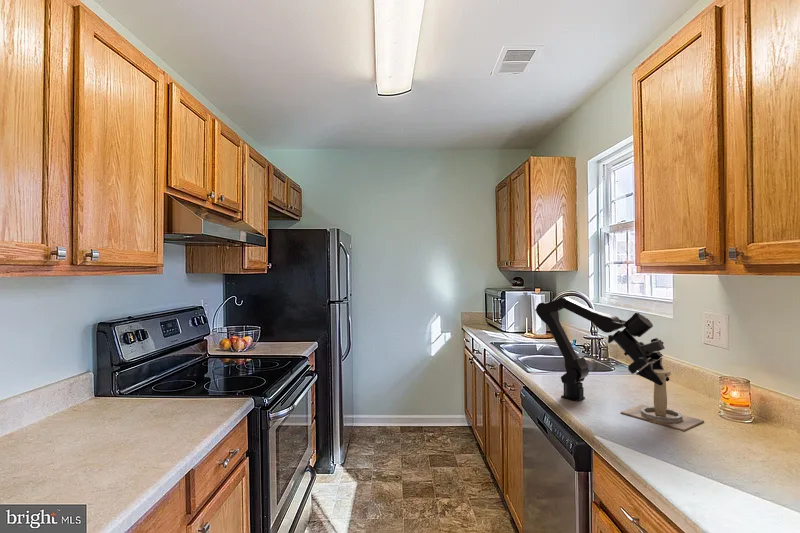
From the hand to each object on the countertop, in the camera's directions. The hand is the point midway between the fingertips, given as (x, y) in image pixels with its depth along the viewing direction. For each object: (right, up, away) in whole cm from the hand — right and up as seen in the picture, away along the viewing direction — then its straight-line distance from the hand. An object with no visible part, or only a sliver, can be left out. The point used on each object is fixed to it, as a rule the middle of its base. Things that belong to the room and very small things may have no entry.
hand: (665, 382), depth 146 cm
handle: (-1, -12, +1) cm, 12 cm away
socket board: (-1, -12, +1) cm, 12 cm away
